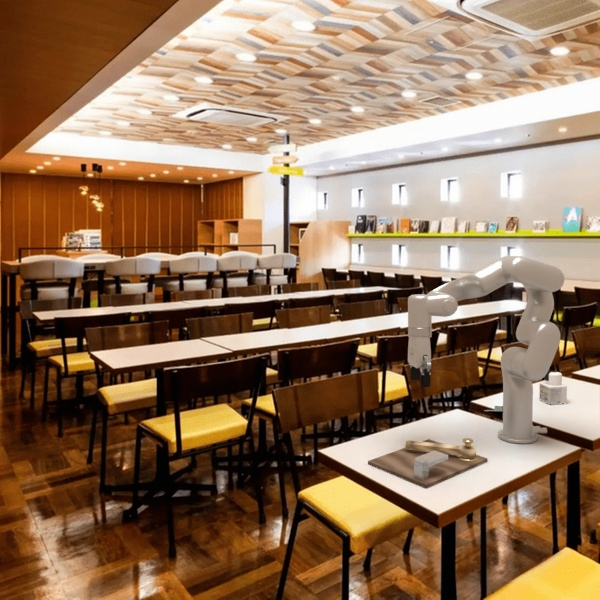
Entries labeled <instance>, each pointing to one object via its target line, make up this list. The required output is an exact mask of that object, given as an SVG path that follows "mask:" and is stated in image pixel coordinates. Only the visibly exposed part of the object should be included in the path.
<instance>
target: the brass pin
mask: <svg viewBox="0 0 600 600" xmlns="http://www.w3.org/2000/svg"><path fill="white" fill-rule="evenodd" d="M462 443H464V445H465V447H466V448H471V446H472V444H473V443H474V439H473V438H468V437H467V438H462ZM477 455H478V454H476V457H475V458H464V457H461V456H459V455H457V458H458V459H460V460H462V461H466V462H474V461H477V460H478V459H479V457H478V456H477Z"/></svg>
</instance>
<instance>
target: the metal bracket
mask: <svg viewBox="0 0 600 600" xmlns="http://www.w3.org/2000/svg"><path fill="white" fill-rule="evenodd" d="M483 411H484V412H503V405H494V409H486V410H485V409H484V410H483Z"/></svg>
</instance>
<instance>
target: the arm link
mask: <svg viewBox="0 0 600 600" xmlns="http://www.w3.org/2000/svg"><path fill="white" fill-rule="evenodd" d="M405 448H406V449H408V450H416V451H425V452H432V451H434V450H435V451H438V452H441V453H444V454H451V455H459V456H461V457H464V458H475V457H476V455H477V447H476V446H475V445H471V448H466V447H465V444H463V445H455V444H448V443H447V444H446V443H445V444H444V443H442V444H438V443H429V442H422V441H417V440H406V441H405Z"/></svg>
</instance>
